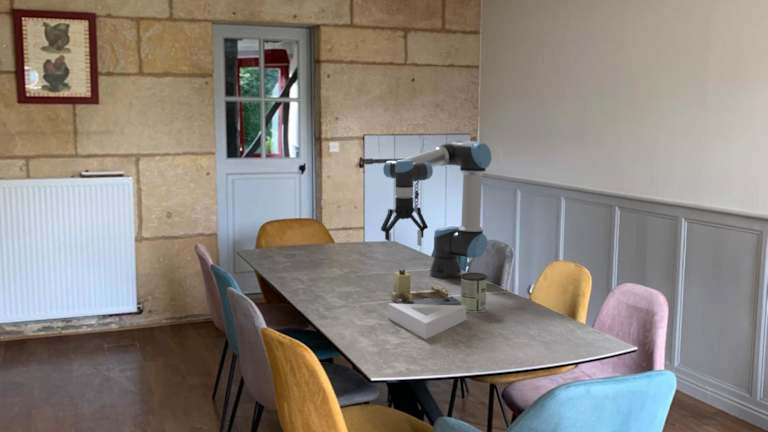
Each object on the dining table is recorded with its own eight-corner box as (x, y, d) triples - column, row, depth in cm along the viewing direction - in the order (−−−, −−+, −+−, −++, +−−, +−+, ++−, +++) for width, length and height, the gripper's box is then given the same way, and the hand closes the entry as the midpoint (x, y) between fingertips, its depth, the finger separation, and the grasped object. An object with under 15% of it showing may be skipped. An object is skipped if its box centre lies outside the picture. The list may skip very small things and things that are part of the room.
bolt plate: (452, 300, 330) (452, 295, 330) (461, 306, 321) (461, 301, 320) (395, 304, 323) (395, 299, 322) (403, 310, 313) (403, 305, 313)
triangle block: (425, 340, 276) (425, 323, 275) (365, 328, 290) (365, 311, 289) (465, 321, 300) (466, 305, 299) (408, 311, 315) (408, 295, 314)
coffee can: (463, 305, 322) (464, 271, 320) (488, 307, 319) (489, 273, 317) (457, 311, 313) (458, 276, 311) (482, 313, 309) (484, 278, 307)
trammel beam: (443, 295, 338) (443, 285, 338) (456, 303, 325) (456, 293, 324) (390, 298, 331) (390, 288, 331) (401, 307, 318) (401, 296, 317)
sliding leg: (404, 293, 334) (404, 267, 332) (416, 302, 319) (417, 275, 318) (393, 294, 332) (393, 268, 330) (405, 302, 318) (405, 276, 316)
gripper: (428, 194, 335) (428, 242, 339) (373, 197, 328) (373, 246, 331) (435, 196, 328) (435, 246, 332) (378, 199, 321) (379, 250, 324)
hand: (404, 246), depth 332 cm, fingers open, 13 cm apart
